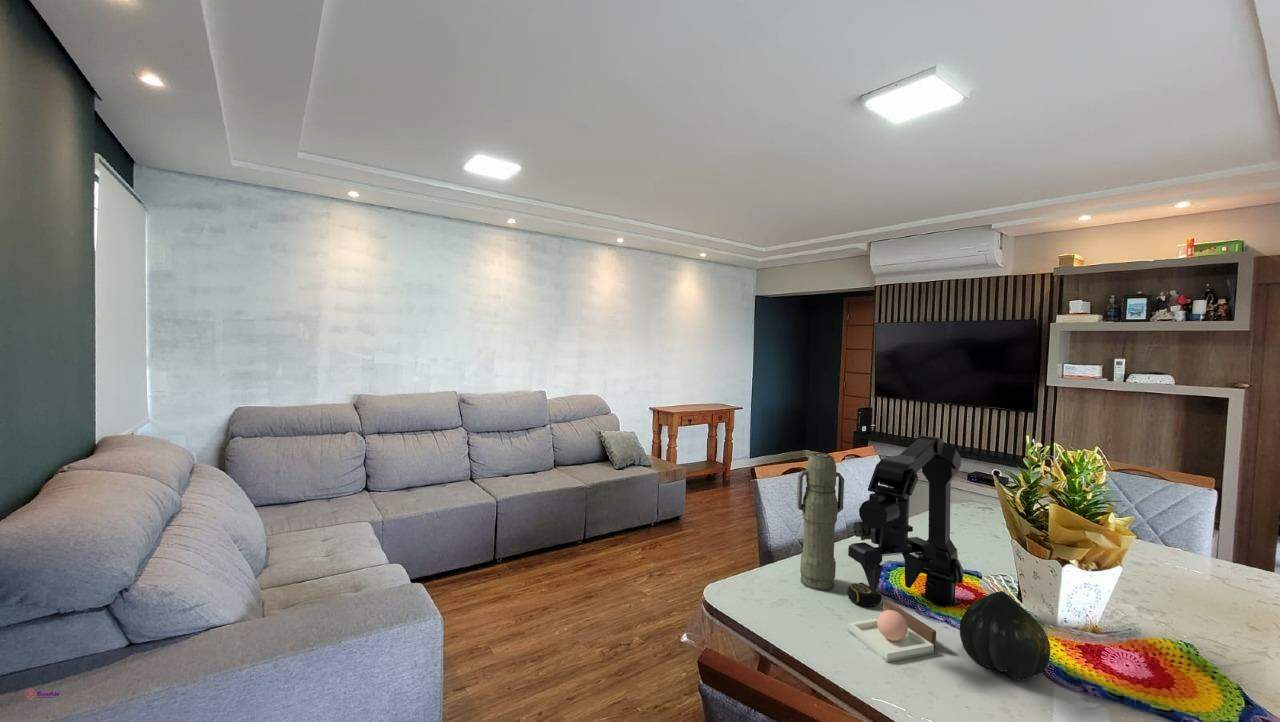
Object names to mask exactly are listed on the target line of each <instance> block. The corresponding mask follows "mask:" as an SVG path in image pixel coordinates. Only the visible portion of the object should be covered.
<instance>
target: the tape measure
mask: <svg viewBox="0 0 1280 722" xmlns="http://www.w3.org/2000/svg"><path fill="white" fill-rule="evenodd" d="M846 593H847V594H846V595H847V597H848V599H849V600H850V602H852V603H854V604H856V605H860V606H863V607H872V606H874V605H878V604H880V603H881V602H882V598H883V597H882V595H881V594H880V593H879V591H878V590H877V591H876V593H873V592H872V591H871V590H870V587H869V585H867V584H865V583H864V582H863V581H861V582H852V583H850V584H849V585H848V588H847V591H846Z"/></svg>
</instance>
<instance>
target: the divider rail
mask: <svg viewBox="0 0 1280 722" xmlns="http://www.w3.org/2000/svg"><path fill="white" fill-rule="evenodd" d="M886 610H893V611H896V612H898V613H900V614H901V615H902V616H903V617H904V619H905V620H906V622H907V626H908V628H909V629H911V630H912V631H914V632H915V633H917V634H918V635H920V636H921V637H923V638H924V639H926V640H927V641H929V642H930V643H932V644H933V645H934V651H936V644H937V630H935V629H934V628H932V627H931V626H929V625H928V624H926V623H924V622H923V621H921V620H920V619H918V618H917V617H915V616H914V615H912V614H910V613H908V612H907V611H906V610H904V609H902V607H899V605H896V604H895V603H893V602H892V601H890V600H889V599H885V600H884V599H883V600H882V612H883V611H886Z"/></svg>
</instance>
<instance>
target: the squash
mask: <svg viewBox="0 0 1280 722" xmlns="http://www.w3.org/2000/svg"><path fill="white" fill-rule="evenodd" d="M959 636H960V640H961V644H962V647H963V649H964V651H965V652H966V654H967V656H969V658H971V659H972V660H973V661H974V662H977V664H980V665H983V666H985V667H987V668H988V669H989V668H990V669H992V668H996V669H997V670H998V671H1000V672H1006V673H1007V674H1008V675H1009V677H1011V678H1013V679H1014V680H1017V681H1026V680H1030V678H1031V677H1037V676H1039V675H1041V674H1042V673H1044V671H1045V670H1046V669H1047V668H1048V664H1049V662H1050V659H1051V658H1050V657H1051V645H1050V640H1049V638H1048V635H1047V633H1046V631H1045V630H1044V628H1043V627H1042V626H1041V624H1040V623H1039V622H1038V621H1037V619H1035V617H1034V616H1033V615H1031V614H1030V613H1029V612H1028V611H1027V610H1026V609H1025V608H1024V607H1022V606H1021V604H1019V603H1018V602H1017V601H1016V600H1015V599H1014V598H1013V597H1012V596H1011V595H1009V594H1007V593H1006V591H1004V590H1000V591H995V592H992V593H989V594H987V595H985V596H983V597H981V598H979V599H977V600H975V601H974V602H973V603H971V604H970V605H969V606H968V607H967V608H966V610H965V611H964V613H963V615H962V618H961V620H960V623H959Z"/></svg>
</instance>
